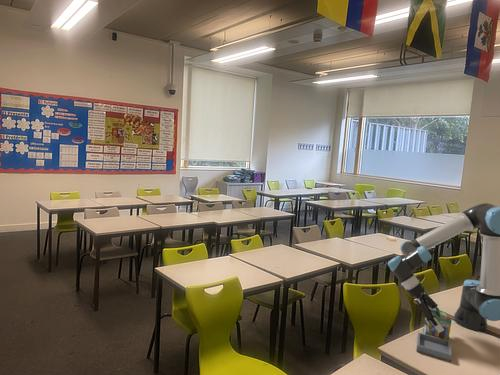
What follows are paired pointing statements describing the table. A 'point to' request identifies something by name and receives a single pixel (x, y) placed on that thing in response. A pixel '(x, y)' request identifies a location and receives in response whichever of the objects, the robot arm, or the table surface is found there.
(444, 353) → the tray
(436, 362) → the table surface
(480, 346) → the table surface
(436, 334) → the chalk box
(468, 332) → the table surface
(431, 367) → the table surface
